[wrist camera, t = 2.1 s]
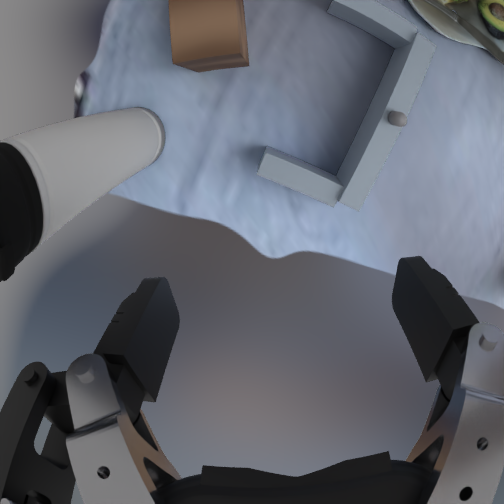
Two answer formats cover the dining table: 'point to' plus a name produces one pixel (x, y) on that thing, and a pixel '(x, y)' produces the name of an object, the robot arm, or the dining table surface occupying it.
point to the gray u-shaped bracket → (376, 119)
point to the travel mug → (67, 173)
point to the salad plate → (467, 21)
